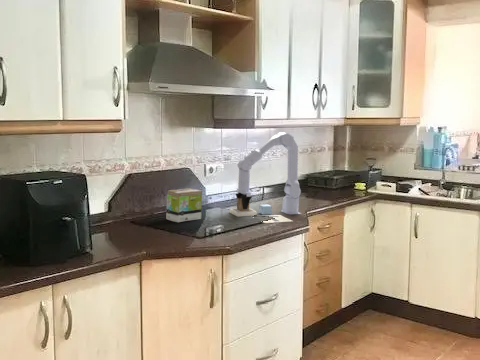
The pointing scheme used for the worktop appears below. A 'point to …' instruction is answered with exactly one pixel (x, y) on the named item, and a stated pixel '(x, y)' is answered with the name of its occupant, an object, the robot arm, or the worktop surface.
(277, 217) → the letter board
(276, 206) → the worktop surface
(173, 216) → the tea box
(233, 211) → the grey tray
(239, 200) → the walnut block
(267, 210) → the blue cube
